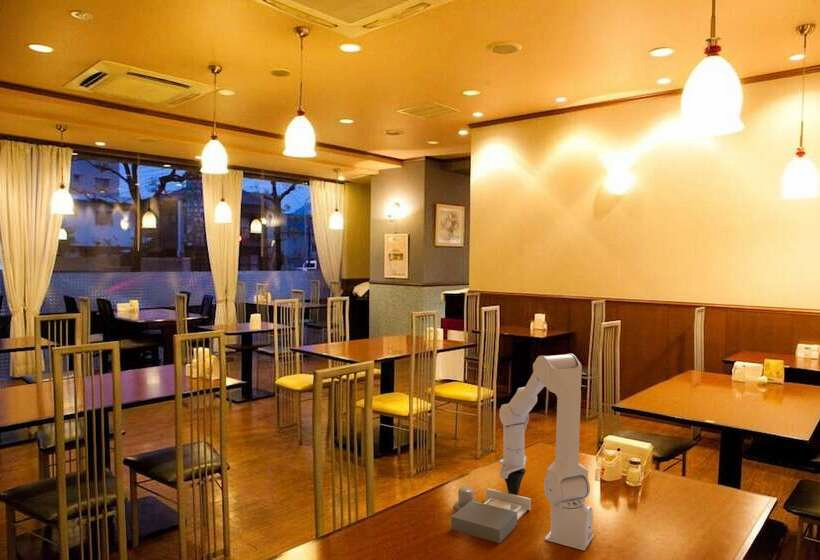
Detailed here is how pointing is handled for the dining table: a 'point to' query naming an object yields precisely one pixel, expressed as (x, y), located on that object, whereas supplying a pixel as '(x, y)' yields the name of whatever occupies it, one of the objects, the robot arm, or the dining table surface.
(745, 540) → the dining table surface
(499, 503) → the beige rounded shape
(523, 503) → the tray
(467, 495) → the grey cup
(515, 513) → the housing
